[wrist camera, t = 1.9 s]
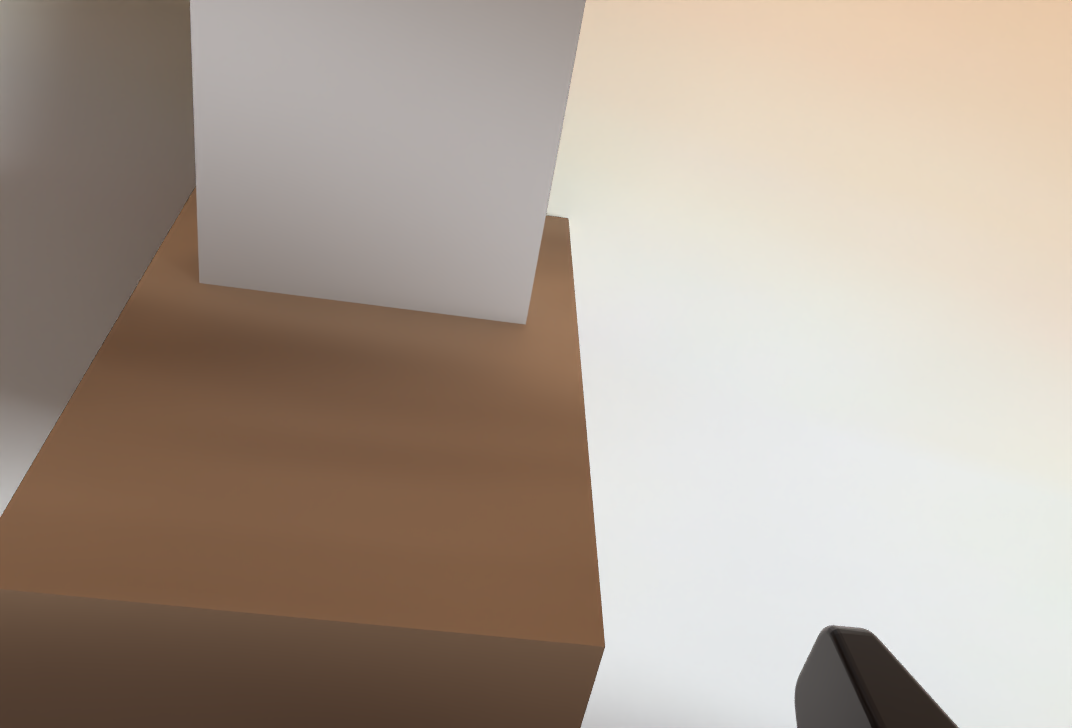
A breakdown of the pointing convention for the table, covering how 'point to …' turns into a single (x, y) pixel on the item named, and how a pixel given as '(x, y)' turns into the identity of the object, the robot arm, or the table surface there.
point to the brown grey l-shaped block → (331, 402)
